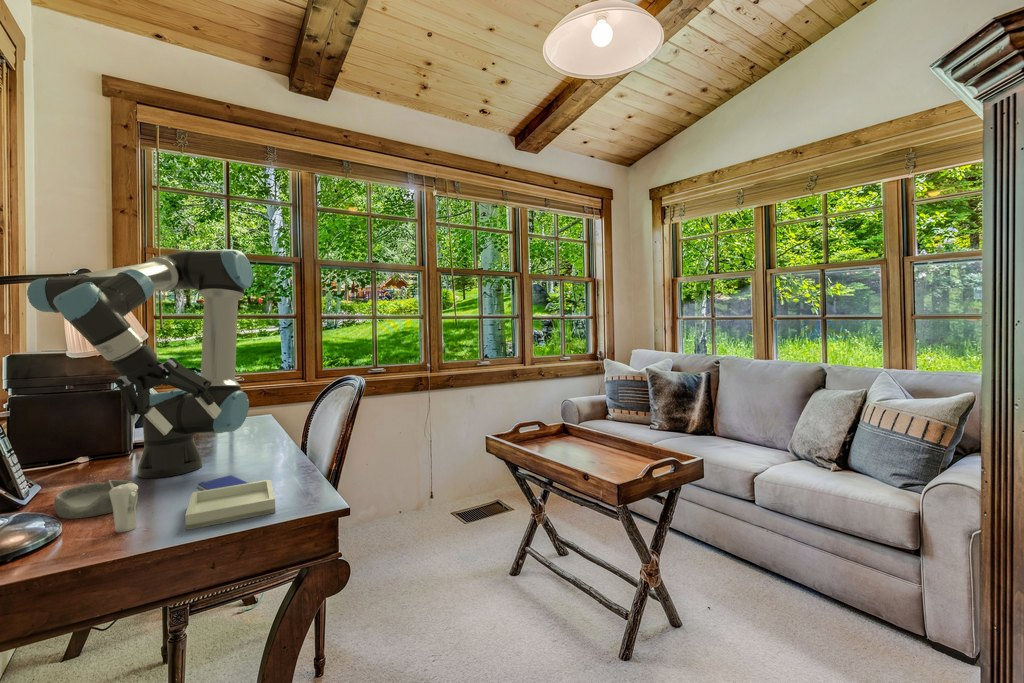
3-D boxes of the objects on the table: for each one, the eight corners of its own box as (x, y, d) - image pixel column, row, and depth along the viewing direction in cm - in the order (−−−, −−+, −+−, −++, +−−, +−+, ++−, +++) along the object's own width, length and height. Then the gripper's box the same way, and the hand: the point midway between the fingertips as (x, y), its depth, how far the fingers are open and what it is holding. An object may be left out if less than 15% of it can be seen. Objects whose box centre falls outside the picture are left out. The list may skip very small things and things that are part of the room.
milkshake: (122, 524, 99) (119, 476, 99) (146, 524, 99) (143, 476, 98) (101, 533, 95) (98, 484, 94) (126, 534, 94) (123, 484, 94)
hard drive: (197, 483, 122) (215, 492, 114) (232, 474, 129) (251, 483, 121) (198, 489, 122) (216, 499, 114) (232, 480, 129) (252, 489, 121)
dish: (131, 511, 107) (130, 489, 107) (47, 527, 99) (45, 503, 99) (139, 493, 119) (138, 474, 119) (64, 506, 112) (63, 485, 111)
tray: (193, 505, 109) (192, 492, 109) (271, 491, 117) (270, 479, 117) (186, 530, 95) (185, 515, 95) (275, 512, 103) (274, 498, 103)
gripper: (66, 379, 100) (138, 448, 111) (166, 343, 97) (231, 418, 108) (91, 359, 107) (157, 427, 117) (186, 325, 103) (245, 397, 114)
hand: (193, 423), depth 113 cm, fingers open, 13 cm apart
